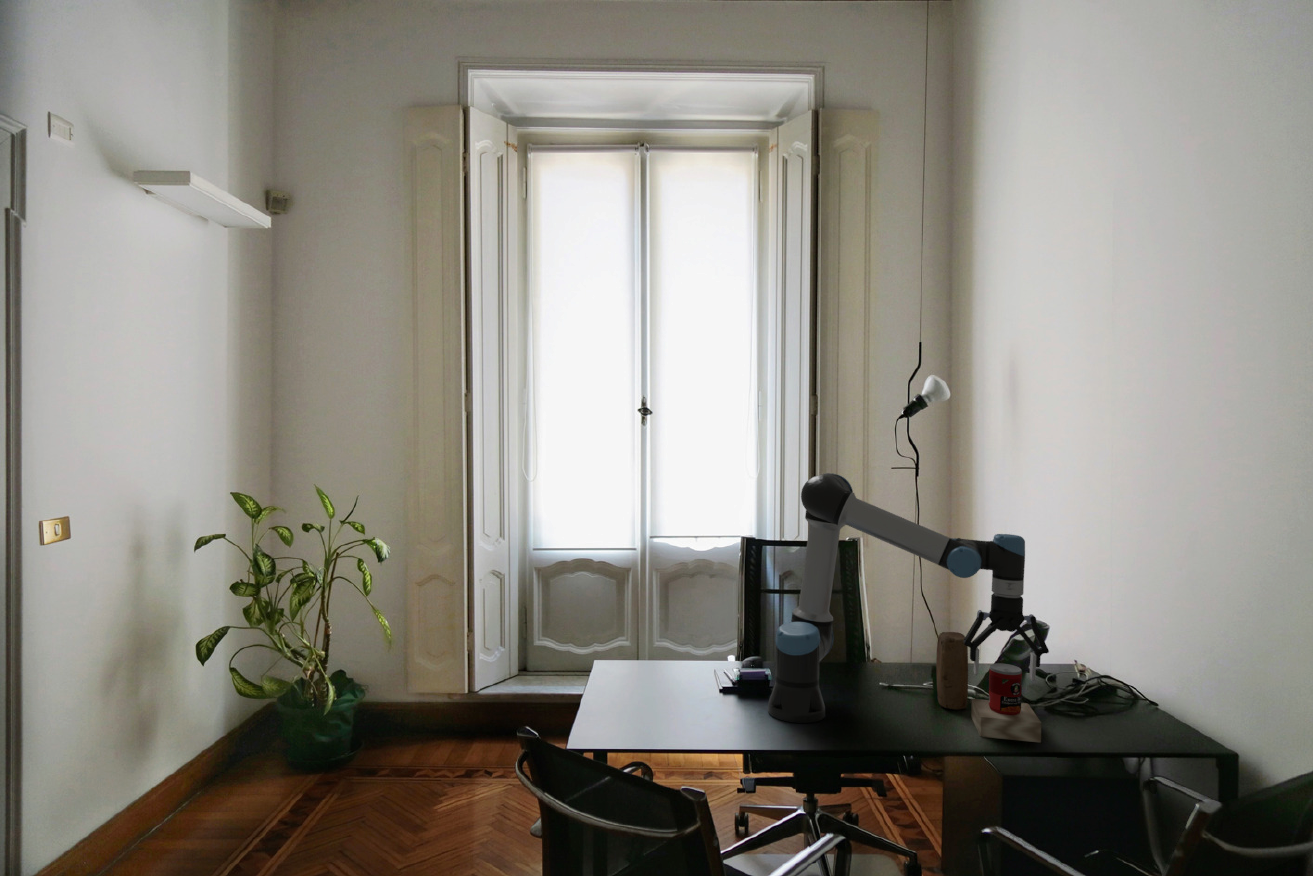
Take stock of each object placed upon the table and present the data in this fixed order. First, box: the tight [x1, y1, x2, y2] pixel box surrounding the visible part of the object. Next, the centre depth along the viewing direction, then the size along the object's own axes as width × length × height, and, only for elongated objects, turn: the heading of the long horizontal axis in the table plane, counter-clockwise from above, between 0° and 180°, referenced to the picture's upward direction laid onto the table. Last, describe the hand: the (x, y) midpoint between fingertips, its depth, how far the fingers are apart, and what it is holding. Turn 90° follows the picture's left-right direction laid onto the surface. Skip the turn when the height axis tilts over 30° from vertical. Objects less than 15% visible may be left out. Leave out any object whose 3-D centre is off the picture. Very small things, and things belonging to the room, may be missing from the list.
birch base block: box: [970, 698, 1042, 744], centre depth 201 cm, size 14×14×5 cm
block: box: [935, 631, 969, 711], centre depth 220 cm, size 11×8×20 cm
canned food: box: [988, 662, 1023, 715], centre depth 201 cm, size 8×8×11 cm
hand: (1003, 676), depth 202 cm, fingers open, 13 cm apart
